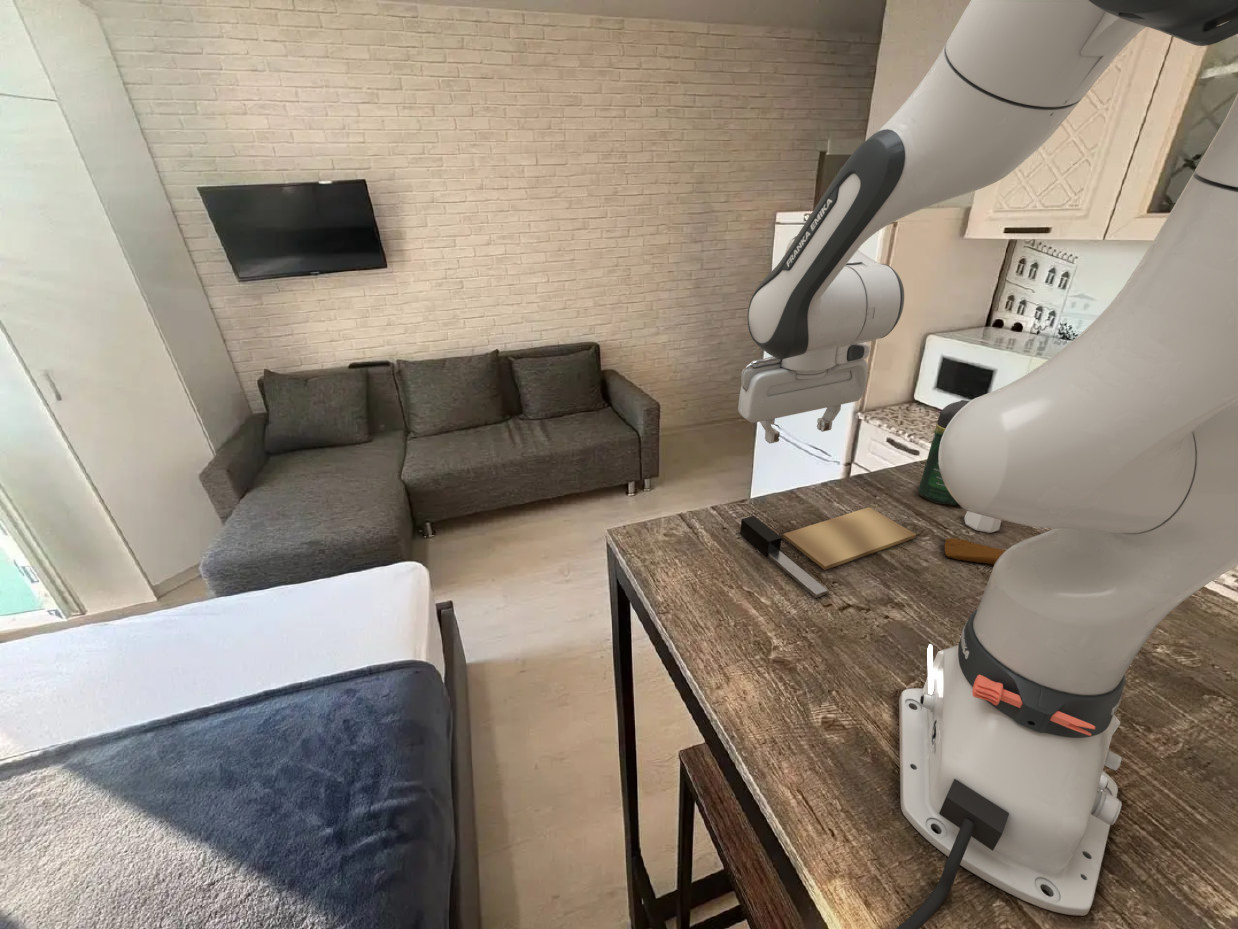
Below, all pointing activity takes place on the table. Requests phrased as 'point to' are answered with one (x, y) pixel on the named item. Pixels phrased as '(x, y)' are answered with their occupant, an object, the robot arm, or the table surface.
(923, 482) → the coffee jar
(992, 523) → the pepper shaker
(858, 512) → the cutting board
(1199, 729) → the table surface
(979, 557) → the primitive tool
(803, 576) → the knife
